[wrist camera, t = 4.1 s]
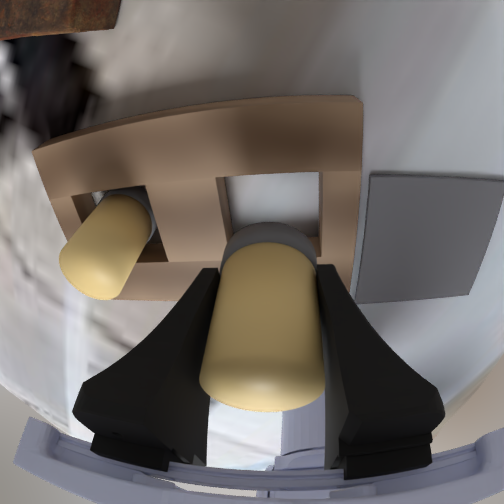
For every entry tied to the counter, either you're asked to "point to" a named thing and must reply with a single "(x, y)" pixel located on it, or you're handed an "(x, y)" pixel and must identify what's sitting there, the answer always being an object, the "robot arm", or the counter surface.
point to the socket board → (210, 177)
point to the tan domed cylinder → (109, 243)
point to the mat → (425, 236)
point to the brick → (55, 17)
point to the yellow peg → (265, 323)
